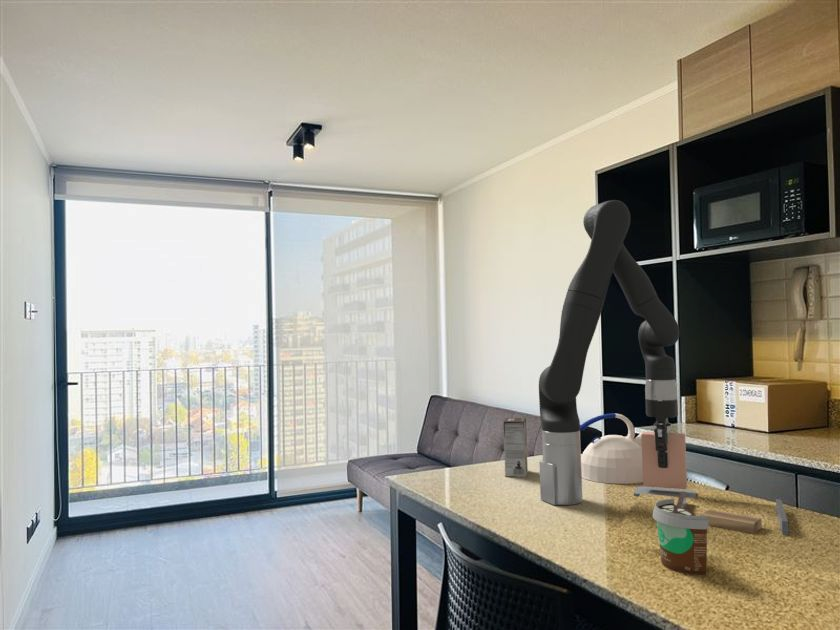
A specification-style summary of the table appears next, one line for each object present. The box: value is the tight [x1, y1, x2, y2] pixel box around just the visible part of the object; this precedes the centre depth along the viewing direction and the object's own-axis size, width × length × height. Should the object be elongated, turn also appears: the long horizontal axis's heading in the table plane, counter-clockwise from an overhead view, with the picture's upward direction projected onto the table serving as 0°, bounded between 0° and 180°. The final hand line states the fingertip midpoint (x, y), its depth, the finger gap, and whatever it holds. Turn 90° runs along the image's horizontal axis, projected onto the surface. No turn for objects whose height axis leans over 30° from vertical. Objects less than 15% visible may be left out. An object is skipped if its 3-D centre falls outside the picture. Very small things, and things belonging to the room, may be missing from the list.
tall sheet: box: [640, 431, 688, 490], centre depth 156 cm, size 4×10×13 cm, turn 63°
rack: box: [676, 491, 790, 537], centre depth 131 cm, size 18×20×4 cm
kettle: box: [580, 412, 645, 485], centre depth 179 cm, size 20×21×18 cm
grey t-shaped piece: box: [633, 485, 697, 499], centre depth 156 cm, size 8×14×1 cm, turn 63°
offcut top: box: [699, 509, 763, 534], centre depth 125 cm, size 5×10×2 cm, turn 46°
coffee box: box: [502, 417, 528, 478], centre depth 185 cm, size 9×6×16 cm
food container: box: [652, 498, 710, 576], centre depth 108 cm, size 12×6×10 cm, turn 5°
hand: (663, 465), depth 156 cm, fingers closed on tall sheet, 4 cm apart
